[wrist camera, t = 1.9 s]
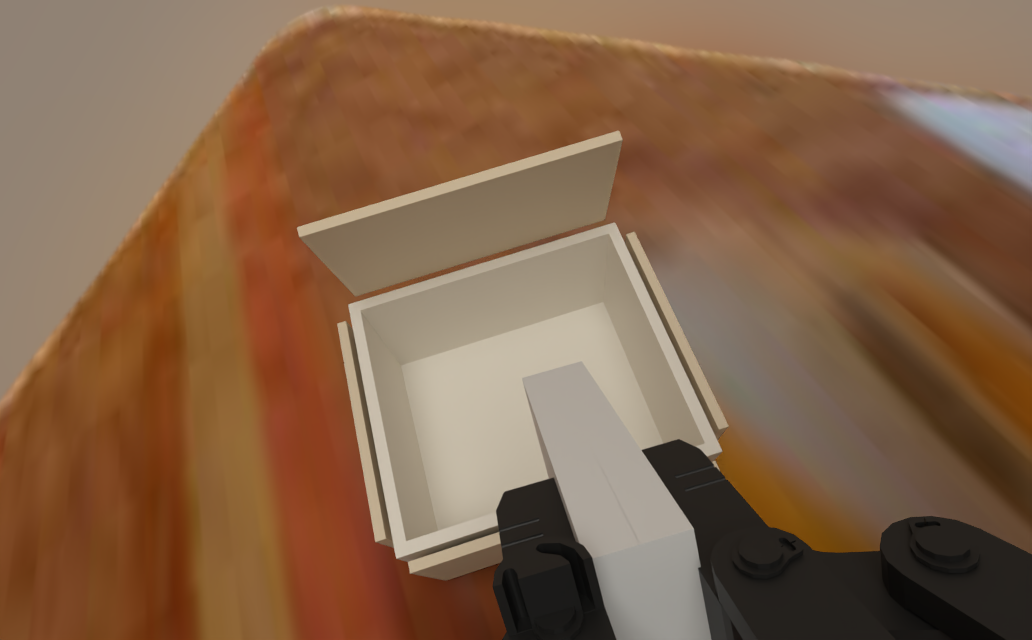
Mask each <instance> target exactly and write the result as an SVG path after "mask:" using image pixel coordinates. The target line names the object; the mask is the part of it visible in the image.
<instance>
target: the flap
mask: <svg viewBox="0 0 1032 640" xmlns="http://www.w3.org/2000/svg"><path fill="white" fill-rule="evenodd" d="M622 140H623V139H622V137H621V135H620V132H619V131H616V132H613V133H609V134H606V135H603V136H599V137H596V138H593V139H589V140H586V141H583V142H579V143H576V144H573V145H569V146H566V147H563V148H559V149H556V150H553V151H549V152H546V153H543V154H539V155H536V156H533V157H529V158H526V159H523V160H519V161H516V162H513V163H509V164H506V165H503V166H499V167H496V168H493V169H490V170H486V171H483V172H480V173H476V174H473V175H470V176H466V177H463V178H460V179H456V180H453V181H450V182H446V183H443V184H440V185H436V186H433V187H430V188H426V189H423V190H420V191H416V192H413V193H410V194H406V195H403V196H400V197H396V198H393V199H390V200H386V201H383V202H380V203H376V204H373V205H370V206H366V207H363V208H360V209H356V210H353V211H350V212H346V213H343V214H340V215H336V216H333V217H330V218H327V219H323V220H320V221H317V222H313V223H310V224H307V225H303V226H300V227H297V229H298V234H299V237H300V238H301V240H302V241H303V242H304V243H305V244H306V245H307V246H308V247H309V248H310V249H311V250H312V251H313V252H314V253H315V254H316V255H317V256H318V257H319V259H320V260H321V261H322V262H323V263H324V264H325V265H326V266H327V267H328V268H329V269H330V270H331V271H332V272H333V273H334V274H335V275H336V276H337V278H338V279H339V280H340V281H341V282H342V283H343V284H344V285H345V286H346V287H347V288H348V289H349V290H350V291H351V292H352V293H353V294H354V295H355V297H356V296H359V295H362V294H365V293H369V292H372V291H375V290H378V289H382V288H385V287H388V286H391V285H395V284H398V283H401V282H404V281H408V280H411V279H414V278H417V277H421V276H424V275H427V274H430V273H434V272H437V271H440V270H443V269H447V268H450V267H453V266H456V265H460V264H463V263H466V262H469V261H473V260H476V259H479V258H483V257H486V256H489V255H492V254H496V253H499V252H502V251H505V250H509V249H512V248H515V247H518V246H522V245H525V244H528V243H531V242H535V241H538V240H541V239H544V238H548V237H551V236H554V235H557V234H561V233H564V232H567V231H570V230H574V229H577V228H580V227H583V226H587V225H590V224H593V223H596V222H600V221H603V220H605V217H606V212H607V208H608V203H609V199H610V194H611V190H612V185H613V181H614V176H615V172H616V167H617V163H618V158H619V154H620V149H621V145H622Z"/></svg>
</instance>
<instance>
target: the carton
mask: <svg viewBox="0 0 1032 640" xmlns="http://www.w3.org/2000/svg"><path fill="white" fill-rule="evenodd" d="M348 305H349V311H350V316H351V321H352V327H353V329H352V328H351V327H350V325H349V324H348V323H347V322H346V321H344V322H341V323H338V324H337V325H338V331H339V336H340V342H341V348H342V353H343V359H344V365H345V370H346V376H347V382H348V388H349V393H350V399H351V405H352V410H353V416H354V422H355V428H356V433H357V439H358V445H359V450H360V456H361V462H362V468H363V473H364V479H365V485H366V490H367V496H368V502H369V507H370V513H371V519H372V525H373V530H374V536H375V542H377V543H380V544H383V545H386V546H389V547H392V548H394V550H395V555H396V559H399V560H403V561H407V562H408V565H409V570H410V573H411V574H416V575H421V576H426V577H431V578H435V579H440V580H445V581H447V580H450V579H453V578H456V577H459V576H462V575H465V574H468V573H471V572H474V571H477V570H480V569H483V568H486V567H489V566H492V565H495V564H498V563H501V561H502V560H503V556H502V547H501V542H500V535H499V529H498V522H497V515H496V509H497V507H498V505H499V502H500V500H501V498H502V495H503V493H504V492H505V491H508V490H512V489H515V488H519V487H522V486H526V485H529V484H533V483H536V482H539V481H543V480H546V479H549V477H548V474H547V470H546V466H545V463H544V459H543V455H542V451H541V448H540V444H539V440H538V437H537V433H536V429H535V425H534V422H533V418H532V414H531V410H530V407H529V403H528V399H527V396H526V392H525V388H524V384H523V381H522V378H523V377H527V376H531V375H534V374H538V373H541V372H545V371H548V370H552V369H555V368H559V367H562V366H566V365H570V364H573V363H577V362H580V361H582V362H583V364H584V365H585V367H586V368H587V370H588V371H589V373H590V374H591V376H592V377H593V379H594V380H595V382H596V383H597V385H598V386H599V388H600V389H601V391H602V392H603V394H604V395H605V397H606V398H607V400H608V401H609V403H610V404H611V406H612V407H613V409H614V410H615V412H616V413H617V415H618V416H619V418H620V419H621V421H622V422H623V424H624V425H625V426H626V428H627V429H628V431H629V432H630V434H631V435H632V437H633V438H634V440H635V441H636V443H637V444H638V446H639V447H640V449H641V450H643V449H646V448H650V447H653V446H657V445H660V444H663V443H667V442H670V441H674V440H677V439H680V440H682V441H684V442H687V443H689V444H691V445H693V446H695V447H697V448H699V449H701V450H702V451H703V452H704V454H705V455H706V456H707V457H708V458H709V459H710V461H711V462H712V463H713V464H714V467H717V469H718V470H719V468H718V465H717V463H716V461H714V460H715V459H716V458H717V457H718V456H719V454H720V453H721V452H722V449H721V447H720V445H719V443H718V441H717V440H718V439H719V438H720V436H721V435H722V434H723V433H724V432H725V430H726V429H727V428H728V427H729V426H728V424H727V422H726V420H725V418H724V416H723V413H722V411H721V409H720V407H719V405H718V403H717V401H716V399H715V397H714V395H713V393H712V391H711V389H710V387H709V385H708V383H707V380H706V378H705V376H704V374H703V372H702V370H701V368H700V366H699V364H698V362H697V360H696V358H695V356H694V354H693V352H692V349H691V347H690V345H689V343H688V341H687V339H686V337H685V335H684V333H683V331H682V329H681V327H680V325H679V323H678V321H677V319H676V316H675V314H674V312H673V310H672V308H671V306H670V304H669V302H668V300H667V298H666V296H665V294H664V292H663V290H662V288H661V285H660V283H659V281H658V279H657V277H656V275H655V273H654V271H653V269H652V267H651V265H650V263H649V261H648V259H647V257H646V255H645V252H644V250H643V248H642V246H641V244H640V242H639V240H638V238H637V236H636V234H635V232H632V233H629V234H626V240H625V243H624V241H623V238H622V236H621V234H620V232H619V230H618V228H617V226H616V224H615V223H611V224H608V225H605V226H602V227H598V228H595V229H592V230H589V231H585V232H582V233H579V234H576V235H573V236H569V237H566V238H563V239H560V240H556V241H553V242H550V243H547V244H543V245H540V246H537V247H534V248H530V249H527V250H524V251H521V252H517V253H514V254H511V255H508V256H504V257H501V258H498V259H495V260H491V261H488V262H485V263H482V264H478V265H475V266H472V267H469V268H465V269H462V270H459V271H456V272H452V273H449V274H446V275H443V276H439V277H436V278H433V279H430V280H426V281H423V282H420V283H417V284H413V285H410V286H407V287H404V288H400V289H397V290H394V291H391V292H387V293H384V294H381V295H378V296H374V297H371V298H368V299H365V300H361V301H358V302H355V303H352V304H348ZM719 471H720V470H719Z"/></svg>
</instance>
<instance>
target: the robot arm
mask: <svg viewBox="0 0 1032 640" xmlns="http://www.w3.org/2000/svg"><path fill="white" fill-rule="evenodd" d="M522 381H523V384H524V388H525V392H526V396H527V399H528V403H529V407H530V410H531V414H532V418H533V422H534V425H535V429H536V433H537V437H538V440H539V444H540V448H541V451H542V455H543V459H544V463H545V466H546V470H547V474H548V477H549V479H546V480H543V481H539V482H536V483H533V484H529V485H526V486H522V487H519V488H515V489H512V490H508V491H505V492H504V493H503V495H502V498H501V500H500V502H499V505H498V507H497V509H496V515H497V522H498V529H499V535H500V542H501V547H502V556H503V560H502V561H501V563H500V565H499V566H498V568H497V569H496V571H495V574H494V581H493V589H494V593H495V596H496V599H497V602H498V605H499V608H500V611H501V614H502V617H503V620H504V624H505V627H506V630H507V632H506V634H505V636H504V637H503V639H502V640H1032V554H1030V553H1028V552H1026V551H1024V550H1022V549H1020V548H1018V547H1016V546H1014V545H1012V544H1010V543H1008V542H1006V541H1003V540H1001V539H999V538H997V537H995V536H993V535H991V534H989V533H987V532H985V531H983V530H981V529H979V528H976V527H974V526H971V525H968V524H965V523H963V522H960V521H957V520H952V519H946V518H940V517H933V516H927V517H910V518H907V519H904V520H901V521H898V522H895V523H892V524H891V525H890V526H889V527H888V528H887V529H886V530H885V531H884V532H883V533H882V536H881V543H880V551H873V552H848V553H831V552H819V551H814V550H812V549H811V548H810V547H809V546H808V545H807V544H806V543H804V542H803V541H802V540H800V539H799V538H798V537H796V536H795V535H794V534H791V533H788V532H785V531H783V530H780V529H777V528H770V527H768V526H767V525H766V524H765V522H764V521H763V520H762V519H761V518H760V517H759V516H758V514H757V513H756V512H755V511H754V510H753V509H752V508H751V506H750V505H749V504H748V503H747V502H746V501H745V500H744V498H743V497H742V496H741V495H740V494H739V493H738V491H737V490H736V489H735V488H734V487H733V486H732V485H731V483H730V482H729V481H728V480H726V479H725V477H724V475H723V474H722V473H721V472H720V471H719V470H718V469H717V467H714V464H713V463H712V462H711V461H710V459H709V458H708V457H707V456H706V455H705V454H704V452H703V451H702V450H701V449H699V448H697V447H695V446H693V445H691V444H689V443H687V442H684V441H682V440H680V439H677V440H674V441H670V442H667V443H663V444H660V445H657V446H653V447H650V448H646V449H643V450H641V449H640V447H639V446H638V444H637V443H636V441H635V440H634V438H633V437H632V435H631V434H630V432H629V431H628V429H627V428H626V426H625V425H624V424H623V422H622V421H621V419H620V418H619V416H618V415H617V413H616V412H615V410H614V409H613V407H612V406H611V404H610V403H609V401H608V400H607V398H606V397H605V395H604V394H603V392H602V391H601V389H600V388H599V386H598V385H597V383H596V382H595V380H594V379H593V377H592V376H591V374H590V373H589V371H588V370H587V368H586V367H585V365H584V364H583V362H582V361H580V362H577V363H573V364H570V365H566V366H562V367H559V368H555V369H552V370H548V371H545V372H541V373H538V374H534V375H531V376H527V377H523V378H522Z"/></svg>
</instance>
